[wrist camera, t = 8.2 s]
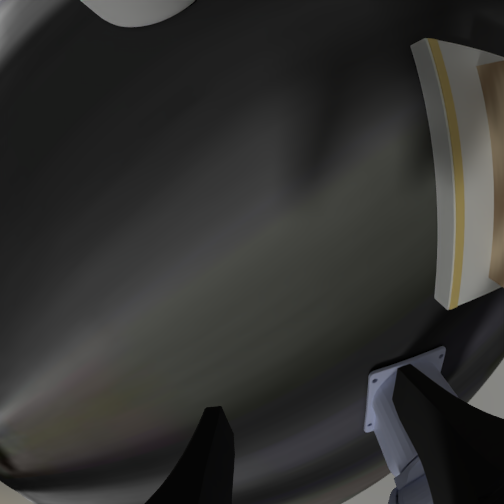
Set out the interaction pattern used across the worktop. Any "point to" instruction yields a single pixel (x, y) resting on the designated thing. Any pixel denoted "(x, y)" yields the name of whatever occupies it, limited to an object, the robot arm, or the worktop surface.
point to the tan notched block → (496, 157)
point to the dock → (459, 167)
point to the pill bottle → (136, 10)
